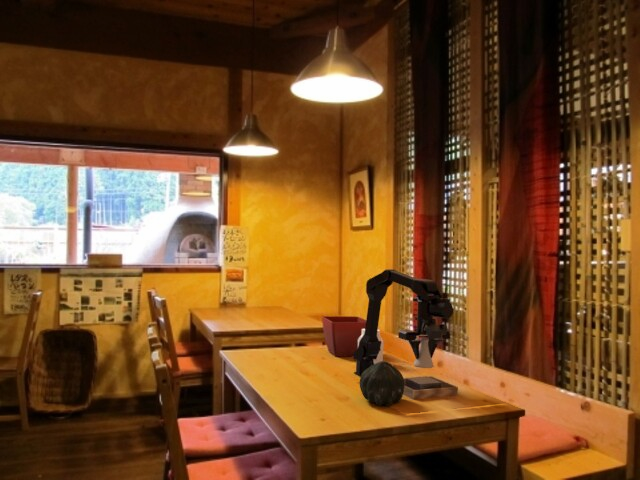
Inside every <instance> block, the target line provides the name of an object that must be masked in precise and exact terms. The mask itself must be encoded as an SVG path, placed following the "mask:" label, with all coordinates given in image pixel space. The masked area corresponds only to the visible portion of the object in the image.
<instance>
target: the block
mask: <svg viewBox="0 0 640 480" xmlns="http://www.w3.org/2000/svg"><path fill="white" fill-rule="evenodd" d="M405 378H406V386H407V387H409V388H411V389H413V390H423V389H435V388H441V382H439V381H437V380H434V379H432V378H430V377H429V376H416V377H413V376H412V377H405Z"/></svg>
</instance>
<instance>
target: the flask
mask: <svg viewBox="0 0 640 480" xmlns="http://www.w3.org/2000/svg"><path fill="white" fill-rule="evenodd" d="M419 341H421V343H420V344H419V359H416V358H415V360H414V363H413V366H414V367H416V368H420V369H432V368H434V367H435V365H434V362H433V360H432V359H433V358H431V356H430V352H429V348H428V341H429V339H428V337H419Z"/></svg>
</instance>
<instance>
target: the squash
mask: <svg viewBox="0 0 640 480" xmlns="http://www.w3.org/2000/svg"><path fill="white" fill-rule="evenodd" d="M404 386H405V383H404V376H403V374H402V373H401V372H400V370H398V368H397V367H395V366H394V365H392V364H391V363H390V362H388V361H386V360H383V361H381V362H378V363H376V364H374V365H372V366H370V367H369V368H367V369H366V370H365V371H364V372H363V373H362V375H361V376H360V378H359V388H360V391H361V394H362V396H363V398H364V399H365V400H367V401H370V402H372V403H375V404H376V405H377V406H383V405H384V406H386V407H389V406H390V405H392V404H398V403H400V401H401V400H402V398H403V396H404V395H403V393H404Z"/></svg>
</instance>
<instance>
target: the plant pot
mask: <svg viewBox="0 0 640 480" xmlns="http://www.w3.org/2000/svg"><path fill="white" fill-rule="evenodd" d="M321 320H322V329H323V334H324V339H325V343H326V347H327V350H328V352H329V353H330V354H331V355H333V356H334V357H337V356H339V357H353V353H354V352H355V351H356V350H357V349H358V339H359V337H360V336H361V334H362V329H365V326H366V319H364V318H362V317H361V316H360V317H359V316H355V315H353V316H348V315H347V316H345V315H344V316H341V315H340V316H338V315H337V316H336V315H334V316H332V315H331V316H329V315H327V316H325V315H324V316H321Z"/></svg>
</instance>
